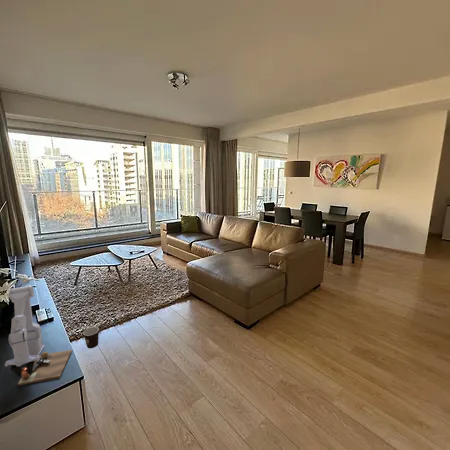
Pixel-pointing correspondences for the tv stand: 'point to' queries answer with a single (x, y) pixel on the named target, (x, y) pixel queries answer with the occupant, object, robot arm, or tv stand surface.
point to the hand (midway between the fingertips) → (25, 374)
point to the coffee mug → (91, 336)
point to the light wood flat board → (48, 367)
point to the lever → (25, 371)
